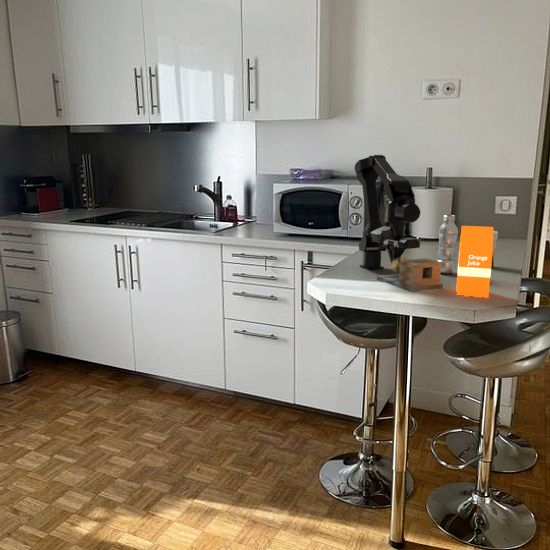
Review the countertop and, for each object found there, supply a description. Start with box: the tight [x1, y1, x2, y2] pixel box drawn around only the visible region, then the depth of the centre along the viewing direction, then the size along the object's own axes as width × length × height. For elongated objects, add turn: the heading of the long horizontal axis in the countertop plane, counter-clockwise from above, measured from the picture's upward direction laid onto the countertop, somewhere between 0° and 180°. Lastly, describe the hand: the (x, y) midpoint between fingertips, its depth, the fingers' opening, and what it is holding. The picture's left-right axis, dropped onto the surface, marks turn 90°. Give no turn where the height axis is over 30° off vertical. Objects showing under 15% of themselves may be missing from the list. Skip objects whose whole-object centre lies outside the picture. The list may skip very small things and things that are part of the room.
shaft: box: [390, 256, 425, 275], centre depth 174 cm, size 12×5×5 cm, turn 25°
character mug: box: [491, 230, 499, 268], centre depth 199 cm, size 11×7×13 cm, turn 3°
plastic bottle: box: [436, 214, 459, 275], centre depth 187 cm, size 6×7×20 cm
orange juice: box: [455, 225, 494, 299], centre depth 160 cm, size 8×9×20 cm
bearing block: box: [376, 257, 444, 292], centre depth 174 cm, size 18×12×8 cm, turn 25°
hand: (393, 265), depth 181 cm, fingers closed
